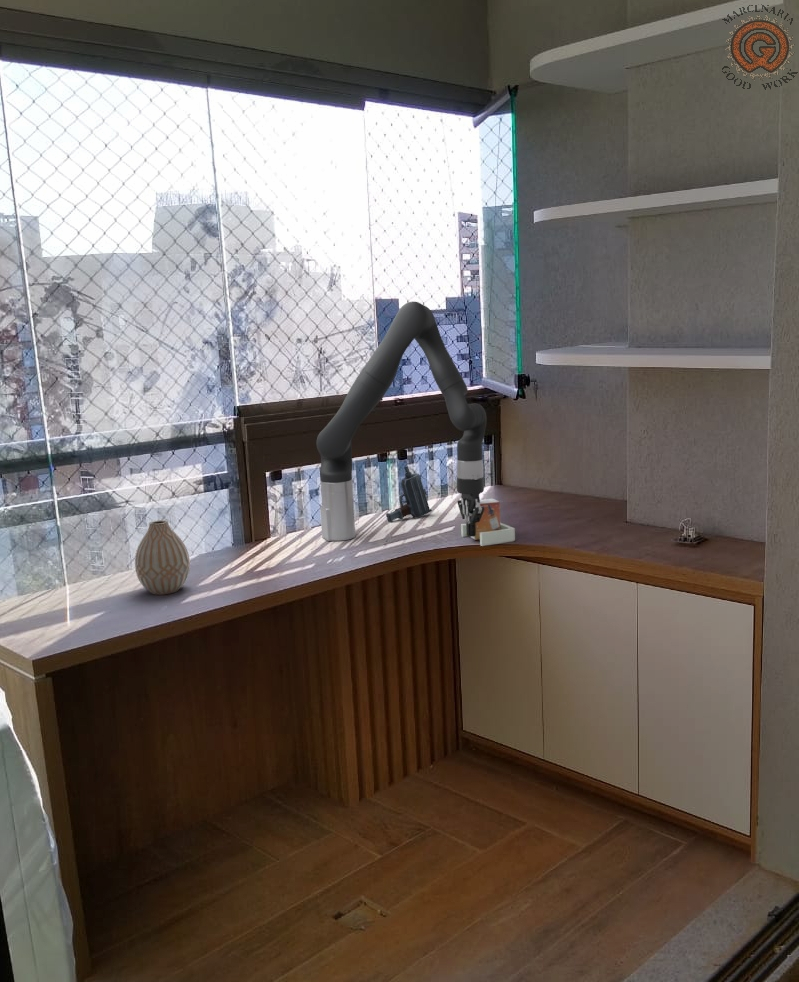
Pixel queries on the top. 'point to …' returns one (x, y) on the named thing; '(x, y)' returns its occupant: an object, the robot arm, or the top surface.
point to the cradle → (494, 535)
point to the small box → (488, 517)
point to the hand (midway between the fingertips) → (471, 535)
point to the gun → (411, 498)
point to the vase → (162, 559)
